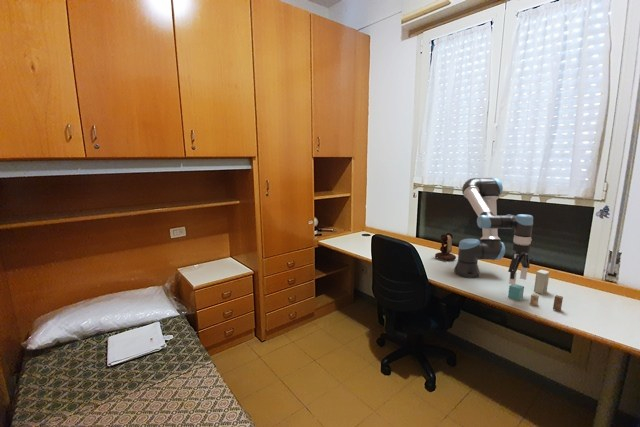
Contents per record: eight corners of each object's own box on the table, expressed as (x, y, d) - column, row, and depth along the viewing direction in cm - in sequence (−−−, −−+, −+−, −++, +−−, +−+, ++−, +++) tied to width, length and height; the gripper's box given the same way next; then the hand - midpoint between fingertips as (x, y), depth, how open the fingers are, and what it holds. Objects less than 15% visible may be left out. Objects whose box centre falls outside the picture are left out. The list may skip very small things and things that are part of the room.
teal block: (508, 296, 161) (509, 285, 159) (512, 294, 164) (513, 283, 162) (518, 300, 156) (520, 288, 155) (522, 297, 159) (524, 286, 158)
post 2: (552, 309, 147) (554, 296, 146) (554, 307, 148) (556, 295, 147) (559, 311, 145) (561, 298, 144) (561, 309, 146) (563, 296, 145)
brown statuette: (449, 263, 215) (451, 237, 211) (431, 258, 226) (432, 233, 223) (459, 259, 223) (461, 234, 220) (441, 254, 235) (443, 230, 232)
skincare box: (538, 288, 171) (540, 269, 169) (547, 291, 167) (550, 271, 165) (533, 291, 167) (536, 271, 165) (542, 294, 164) (545, 273, 162)
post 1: (529, 304, 152) (531, 295, 152) (531, 302, 154) (533, 293, 153) (535, 306, 150) (536, 296, 150) (537, 304, 152) (538, 295, 151)
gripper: (519, 248, 145) (515, 289, 148) (539, 241, 159) (535, 278, 162) (503, 245, 151) (499, 284, 154) (523, 238, 165) (519, 274, 168)
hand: (517, 281), depth 158 cm, fingers open, 13 cm apart
